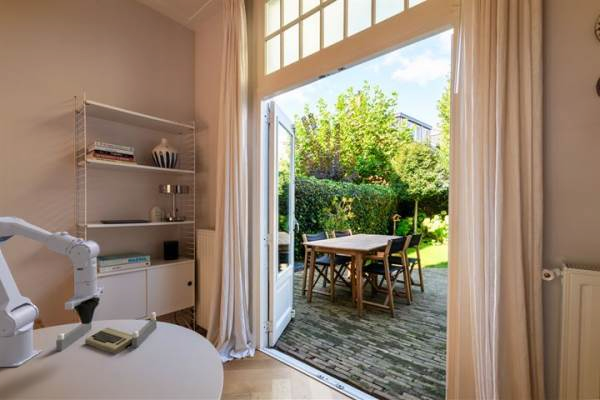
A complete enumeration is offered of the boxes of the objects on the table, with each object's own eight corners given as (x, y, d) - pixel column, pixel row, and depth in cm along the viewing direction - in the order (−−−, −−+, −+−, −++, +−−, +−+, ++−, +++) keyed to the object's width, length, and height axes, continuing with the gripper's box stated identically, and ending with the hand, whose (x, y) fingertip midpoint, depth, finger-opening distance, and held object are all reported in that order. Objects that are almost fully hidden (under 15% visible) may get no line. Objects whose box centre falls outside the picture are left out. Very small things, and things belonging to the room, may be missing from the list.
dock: (56, 351, 91) (56, 332, 91) (87, 329, 105) (86, 314, 105) (137, 348, 92) (136, 330, 92) (156, 327, 106) (156, 312, 106)
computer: (84, 345, 95) (84, 335, 95) (109, 334, 102) (108, 325, 102) (114, 356, 88) (114, 346, 88) (138, 343, 96) (138, 334, 96)
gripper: (81, 287, 81) (82, 334, 82) (113, 273, 96) (113, 312, 96) (56, 288, 81) (57, 334, 82) (91, 273, 96) (92, 313, 96)
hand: (86, 322), depth 89 cm, fingers closed
